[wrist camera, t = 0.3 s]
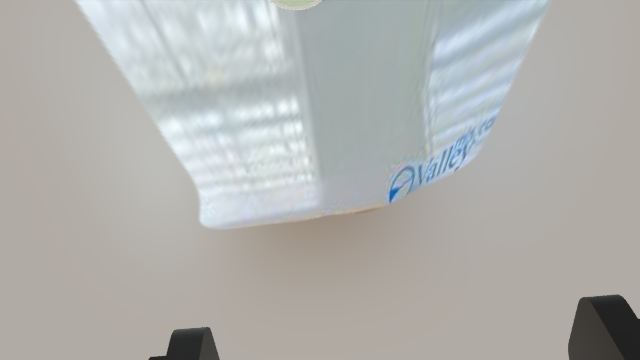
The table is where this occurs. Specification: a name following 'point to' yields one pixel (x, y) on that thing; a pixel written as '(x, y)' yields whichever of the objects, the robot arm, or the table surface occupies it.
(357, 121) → the table surface
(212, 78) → the table surface
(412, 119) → the table surface
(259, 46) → the table surface
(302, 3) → the sign
